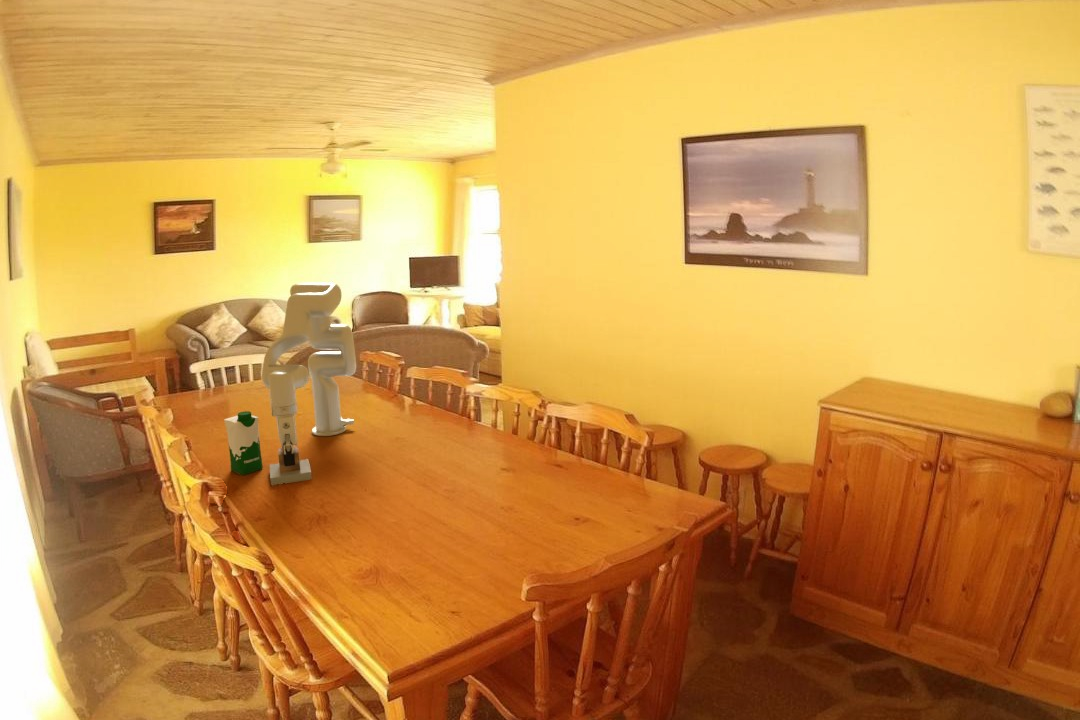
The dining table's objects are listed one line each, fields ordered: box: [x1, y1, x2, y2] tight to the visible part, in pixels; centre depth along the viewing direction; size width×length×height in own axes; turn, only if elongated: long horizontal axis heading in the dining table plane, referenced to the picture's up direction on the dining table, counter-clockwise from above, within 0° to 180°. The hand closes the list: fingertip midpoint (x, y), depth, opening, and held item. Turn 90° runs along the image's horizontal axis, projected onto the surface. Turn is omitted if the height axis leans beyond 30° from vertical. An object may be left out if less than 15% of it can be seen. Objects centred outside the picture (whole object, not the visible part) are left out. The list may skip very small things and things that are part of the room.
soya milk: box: [223, 410, 264, 476], centre depth 208 cm, size 9×9×20 cm
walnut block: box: [277, 445, 300, 473], centre depth 204 cm, size 6×6×6 cm
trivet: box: [269, 458, 313, 486], centre depth 205 cm, size 12×12×2 cm
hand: (289, 460), depth 204 cm, fingers open, 9 cm apart
